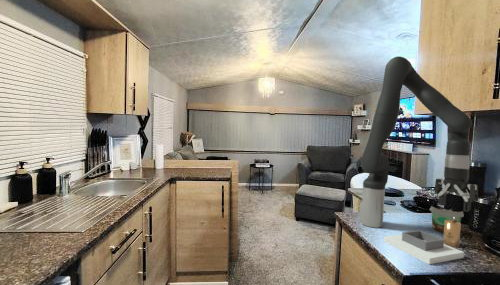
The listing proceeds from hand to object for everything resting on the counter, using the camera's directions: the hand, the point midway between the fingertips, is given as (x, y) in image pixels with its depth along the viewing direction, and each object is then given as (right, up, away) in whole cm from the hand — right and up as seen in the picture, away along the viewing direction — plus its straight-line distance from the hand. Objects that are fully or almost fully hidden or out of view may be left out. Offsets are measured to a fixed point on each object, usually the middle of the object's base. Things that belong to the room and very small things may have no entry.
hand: (454, 208), depth 102 cm
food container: (+7, -14, +14) cm, 22 cm away
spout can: (-1, -14, +1) cm, 15 cm away
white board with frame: (-16, -14, -5) cm, 21 cm away
